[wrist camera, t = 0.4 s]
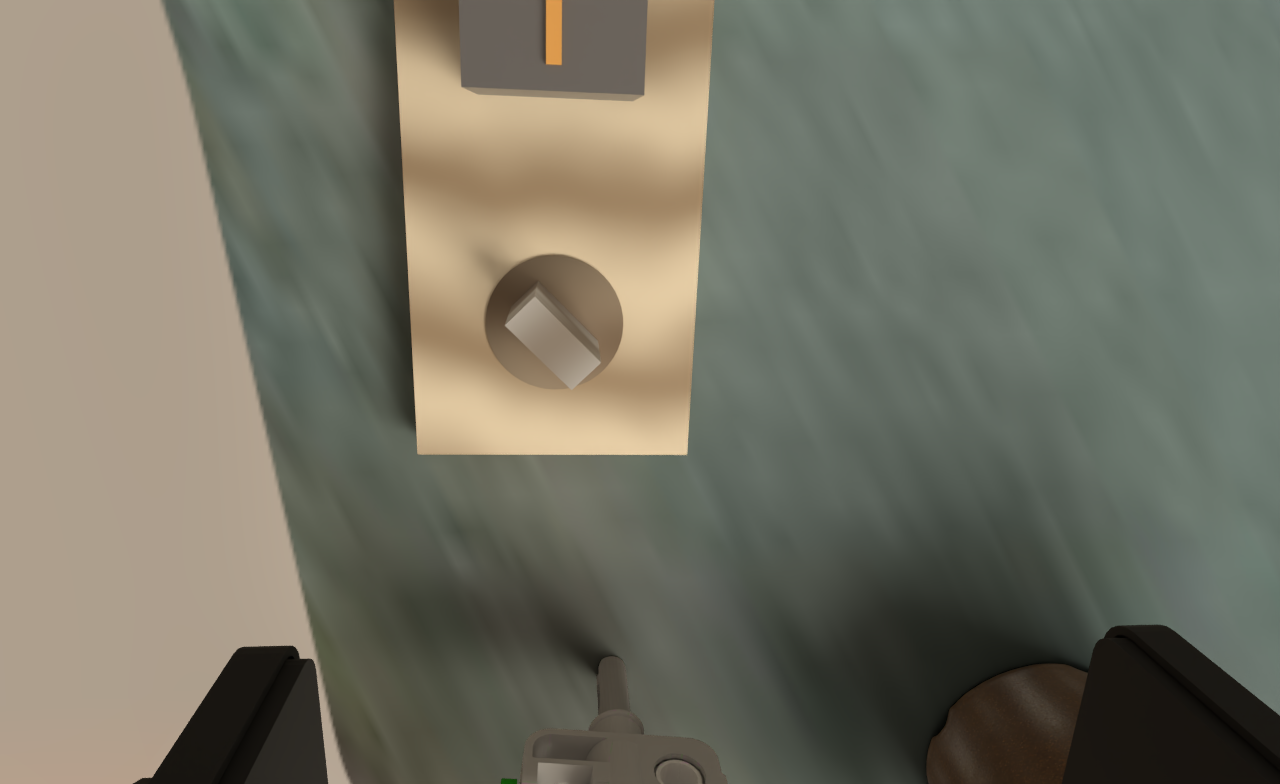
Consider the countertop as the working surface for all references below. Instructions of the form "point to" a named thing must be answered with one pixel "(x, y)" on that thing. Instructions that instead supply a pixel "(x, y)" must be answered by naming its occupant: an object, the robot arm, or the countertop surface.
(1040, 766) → the plant pot
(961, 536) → the countertop surface
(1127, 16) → the countertop surface
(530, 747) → the mechanical component
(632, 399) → the light wood flat block
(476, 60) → the grey and orange block
